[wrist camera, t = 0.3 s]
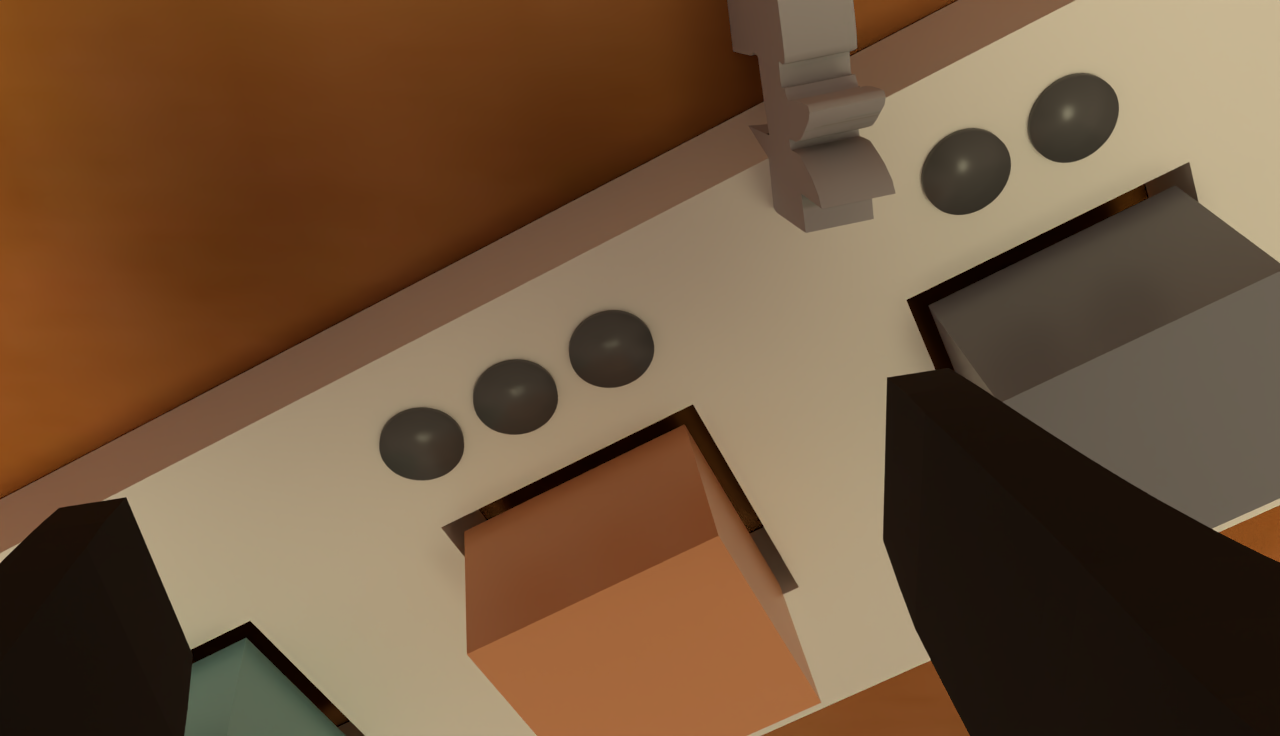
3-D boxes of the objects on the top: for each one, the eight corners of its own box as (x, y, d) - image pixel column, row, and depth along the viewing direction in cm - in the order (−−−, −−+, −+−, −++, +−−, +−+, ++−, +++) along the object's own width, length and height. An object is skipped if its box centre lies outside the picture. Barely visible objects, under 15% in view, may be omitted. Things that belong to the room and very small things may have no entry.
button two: (1222, 379, 21) (1326, 478, 19) (999, 482, 22) (1071, 590, 19) (1175, 184, 19) (1286, 268, 17) (928, 305, 20) (999, 403, 17)
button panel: (1371, 379, 25) (1444, 438, 23) (180, 920, 28) (162, 1007, 27) (1291, -173, 18) (1383, -153, 16) (-228, 618, 22) (-288, 705, 20)
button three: (779, 583, 23) (821, 702, 20) (578, 676, 23) (594, 803, 21) (684, 424, 20) (718, 535, 18) (464, 531, 21) (467, 654, 18)
